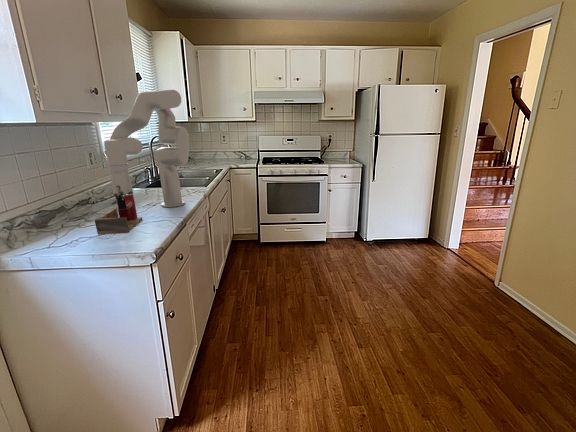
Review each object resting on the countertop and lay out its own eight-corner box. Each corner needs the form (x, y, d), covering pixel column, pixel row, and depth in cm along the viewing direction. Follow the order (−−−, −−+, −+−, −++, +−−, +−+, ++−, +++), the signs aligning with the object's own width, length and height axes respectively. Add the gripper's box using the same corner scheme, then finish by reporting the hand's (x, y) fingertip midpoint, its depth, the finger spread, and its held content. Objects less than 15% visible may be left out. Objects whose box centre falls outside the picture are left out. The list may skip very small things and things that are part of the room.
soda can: (133, 222, 138) (128, 196, 134) (117, 222, 138) (111, 196, 134) (140, 217, 145) (136, 192, 141) (125, 217, 145) (120, 193, 141)
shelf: (116, 221, 145) (113, 208, 143) (142, 219, 146) (140, 206, 144) (97, 234, 128) (94, 219, 126) (127, 232, 129) (125, 218, 127)
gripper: (118, 165, 142) (125, 201, 147) (101, 172, 126) (110, 211, 131) (135, 165, 143) (142, 200, 148) (120, 171, 126) (128, 210, 132)
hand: (127, 205), depth 140 cm, fingers open, 9 cm apart
